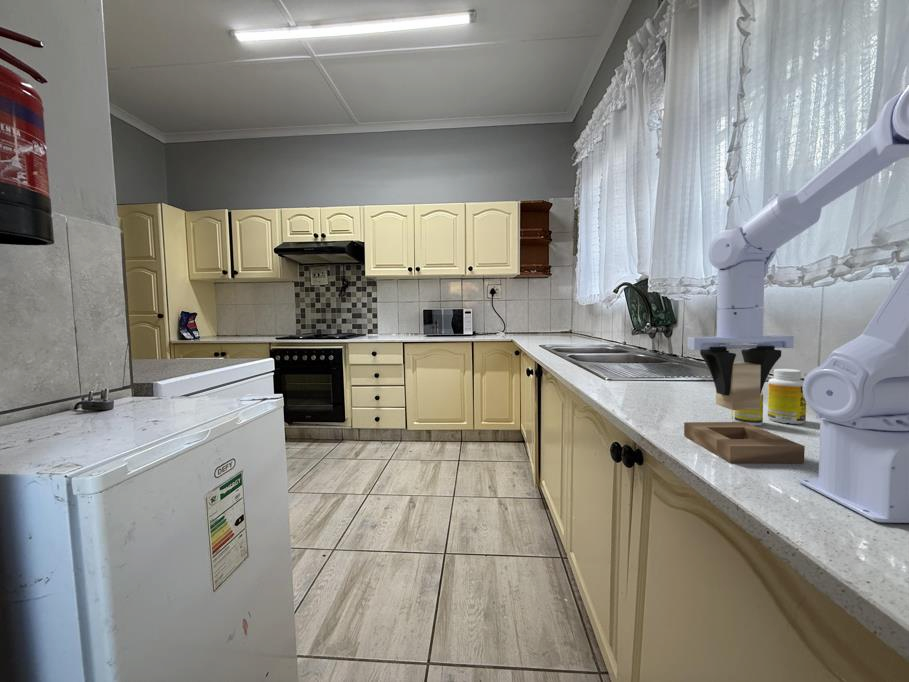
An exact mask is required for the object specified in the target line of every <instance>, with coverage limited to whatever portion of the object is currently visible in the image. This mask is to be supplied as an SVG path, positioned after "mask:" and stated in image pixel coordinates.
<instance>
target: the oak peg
mask: <svg viewBox="0 0 909 682" xmlns="http://www.w3.org/2000/svg"><path fill="white" fill-rule="evenodd" d="M760 376H761V365H758V364H752V363H746V362H744V361H734V363H733V367H732V372H731V389H730V394H729V395H721V394H718V393H717V392H716V391H715V405H717V406H720V407H722V408H725V409H728V410H731V411H732V410H760Z"/></svg>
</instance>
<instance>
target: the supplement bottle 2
mask: <svg viewBox="0 0 909 682" xmlns="http://www.w3.org/2000/svg"><path fill="white" fill-rule="evenodd" d="M802 377H803V376H802V370H799V369H794V368H774V370H773V378H770V379H769V380H768V381H767V382H768V386H767V387H768V388H767V390H768V391H767V418H768V419H769V420H771V421H773V422H777V423H780V422H781V424H786V423H790V425H802V424H804V423H805V422H806V421H807V420H806V418H807V417H806V416H807V402H806V400H805V398H804V395H803V382H804V380H802Z"/></svg>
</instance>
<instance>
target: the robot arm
mask: <svg viewBox="0 0 909 682" xmlns="http://www.w3.org/2000/svg"><path fill="white" fill-rule="evenodd" d="M905 158H909V85H908V86H907V87H906V89H904V90H902V91H901V92H900V93H898V94H896V95H895V96H894V97H892V98H890V99H889V100H887V102H886V103H885V104H884V105H883V107H882V110H881V112H880V113H879V115H878V118H877V120H876V122H875V123H873V125H872V126H871V127H869V128H867V130H866V131H865V132H863V133H862V135H860V136H859V137H858V138H857V139H856V140H854V141H853V142H852V143H851V144H850V145H849V146H848V147H847V148H845V149H844V150H843V151H842V152H841V153H840V154H839V155H838V156H836V157H835V158H834V159H833V160H831V162H829V163H828V164H827V165H826V166H825V167H824V168H823V169H821V170H820V171H819V172H818V173H817V174H816V175H815V176H813V178H810V180H809V181H807V183H806V184H804V185H803V186H802V187H801V188H800V189H799V190H787V191H782V192H781V193H778V194H777V193H776V194H774V195H772V196H771V197H770V198H769V199H768V200H767V202H768V203H767V204H766V205H764V206H763V207H761V209H760V210H758V211H757V212H756V213H755V214H753V215H752V216H751V217H750V218H748V219H746V220H744V221H743V222H742V223H741V224H740V226H739V227H738V226H736V227H734V228H733V229H724V230H722V231H719V232H718V233H717V235H716V236H715V237H714V238H713V239H712V241H711V242H710V246H709V247H708V251H707V254H708V255H707V256H708V260H709V263H710V265H711V266H713V267H714V268H716V269H717V295H716V298H717V299H716V300H717V301H716V302H717V303H716V309H717V310H716V335H715V336H714V335H713V336H695V337H694V336H691V337H690V336H688V337H687V350H692V351H700V352H699V353H700V356H701V358H702V359H703V360H704V362H705V364H706V366H707V367H708V370H709V371H710V374H711V377H712V380H713V383H714V388H715V393H716V392H717V393H718V394H721V395H729V394H730V389H731V372H732V367H733V363H734V362H735V359H736V357H737V354H736V353H735V352H730V350H733V349H734V350H737V349H741V351H740V352H741V355H742V359H743V362H746V363H752V364H758V365H761V376H760V394H761V392H763V388H764V385H765V383H766V380H767V378H768V376H769V374H770V372H771V370H772V368H773V367H774V366H775V365H776V363H777V362H778V361H779V360H780V358H781V357H782V350H781V348H782V349H793V348H794V342H795V341H794V337H795V336H794V335H788V334H787V335H786V334H780V335H779V334H776V335H774V334H771V335H770V334H769V335H768V334H767V335H766V334H765V335H764V313H765V312H764V310H765V309H764V306H765V305H764V304H765V303H764V302H765V278H766V277H767V274H769V266H770V263H771V262H772V261H773V258H774V257H775V255H776V253H777V249H779V248H781V247H782V246H784V245H785V244H786V243H789V242H790V241H791V240H793V239H794V238H795V237H797V236H799V235H800V234H802V233H803V232H805V231H806V230H807V229H810V228H811V227H812V226H813V225H815V224H817V223H818V222H819V221H820V218H821V214H822V208H825V207H826V206H827V205H829V204H831V203H832V202H834V201H835V200H837V199H839V198H840V197H842V196H843V195H845V194H846V193H848V192H850V191H851V190H853V189H854V188H856V187H858V186H860V185H861V184H862V183H865V182H866V181H867V180H869V179H870V178H872V177H874V176H876V175H877V174H878V173H880V172H882V171H883V170H885V169H886V168H888V167H890V166H891V165H893V164H894V163H896V162H898V161H899V160H901V159H905ZM731 344H734V345H731ZM735 344H737V345H735ZM739 344H740V345H739ZM803 381H804V382H803V395H804V398H805V400H806V405H808V407H809V408H810V409H811V410H812V411H813V412H814V413H815V418H816V419H817V420H820V421H819V450H818V452H819V455H818V477H798V478H797V482H799V483H800V484H802V485H803V486H806V487H808V488H809V489H812V490H813V491H815V492H818V493H819V494H821V495H823V496H825V497H828V498H829V499H831V500H832V501H835V502H837V503H838V504H840V505H842V506H843V507H847V508H848V509H850V510H852V511H855V512H856V513H857V514H860V515H862V516H863V517H866V518H868V519H870V520H871V521H873V522H877V523H889V524H890V523H896V524H898V523H900V524H903V523H904V524H909V261H908V263H907V264H906V265H905V267H904V268H903V270H902V272H901V274H900V275H899V277H898V278H897V279H896V281H895V282H894V283H893V285H892V287H891V289H890V290H889V292H888V294H887V295H886V296H885V298H884V299H883V301H882V303H880V305H879V307H878V309H877V310H876V312H875V313H874V315H873V317H871V320H870V321H869V322H868V324H867V326H866V327H865V329H864V330H863V332H862V334H860V335H859V336H858V337H856V338H854V339H852V340H851V341H848V342H847V343H845V344H843V345H841V346H839V347H837V348H835V349H834V350H832V352H831V353H830V354H829V356H828V358H827V359H826V360H825V361H824V362H823V363H822V364H821V365H819V366H817V367H815V368H813V369H812V370H811V371H809V372H808V373H807V375H806V376H805V378H804V380H803Z"/></svg>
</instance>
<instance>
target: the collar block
mask: <svg viewBox="0 0 909 682" xmlns="http://www.w3.org/2000/svg"><path fill="white" fill-rule="evenodd" d="M683 435H684V437H685V438H687V439H688V440H690V441H691V442H694V443H695V444H697V445H699V447H701V448H704V449H706V450H707V451H709V452H710V453H712V454H714V455H715V456H717V457H719V458H720V459H722V460H724V461H726V462H728V463H729V464H805V453H806V452H805V445H803V444H800V443H798V442H796V441H793V440H790V439H788V438H785V437H783V436H780V435H778V434H775V433H773V432H770V431H768V430H766V429H763V428H760V427H759V426H753V425H750V424H748V423H745V422H733V421H704V422H703V421H701V422H700V421H695V422H694V421H691V422H688V421H687V422H686V421H684V422H683Z"/></svg>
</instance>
